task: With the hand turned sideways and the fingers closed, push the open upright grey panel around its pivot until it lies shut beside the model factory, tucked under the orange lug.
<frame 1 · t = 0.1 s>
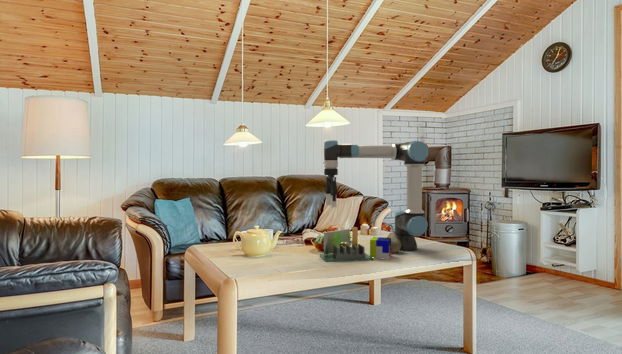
hand: (331, 206, 231), 28 cm above the table, tool pointing down, fingers open, 13 cm apart
upright grey panel: (336, 241, 236), point 8 cm above the table, hinge at 32.0°
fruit: (392, 252, 243), on the table
model factory: (345, 257, 227), on the table
puzzle toy: (380, 257, 231), on the table
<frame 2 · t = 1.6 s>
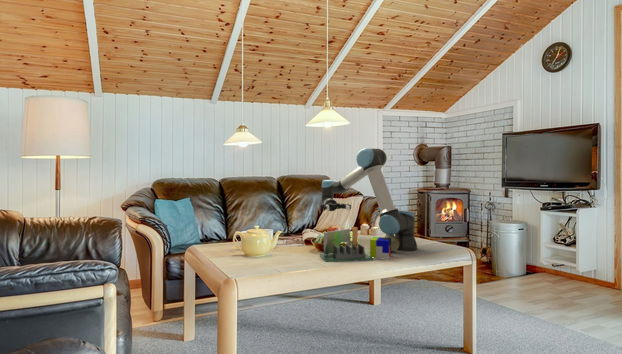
hand: (339, 208, 246), 25 cm above the table, tool horizontal, fingers open, 12 cm apart
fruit: (392, 251, 242), on the table, touching arm
everything else where it was.
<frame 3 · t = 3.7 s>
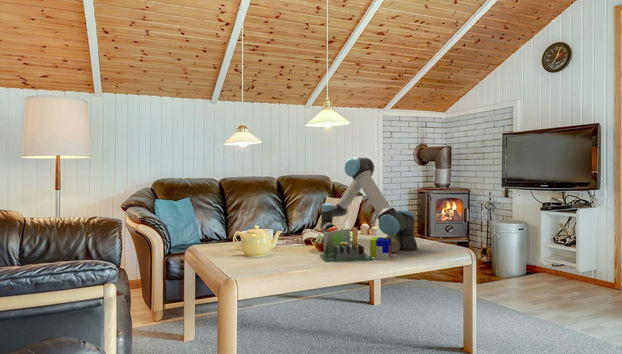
hand: (339, 235, 246), 9 cm above the table, tool horizontal, fingers closed
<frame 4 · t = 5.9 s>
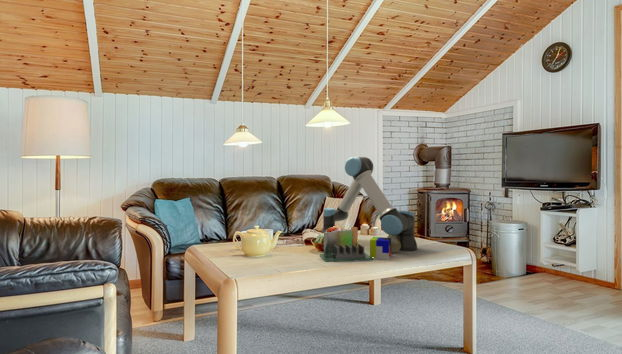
hand: (341, 241, 238), 7 cm above the table, tool horizontal, fingers closed
upright grey panel: (338, 241, 235), point 8 cm above the table, hinge at 23.9°, touching gripper
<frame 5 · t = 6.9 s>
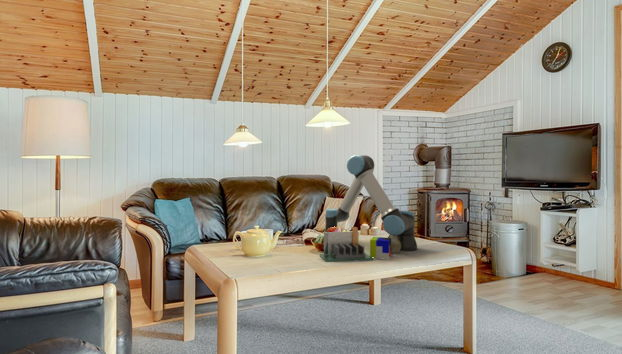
hand: (344, 243, 233), 7 cm above the table, tool horizontal, fingers closed, pressing on upright grey panel
upright grey panel: (341, 242, 232), point 8 cm above the table, hinge at -0.7°, touching gripper
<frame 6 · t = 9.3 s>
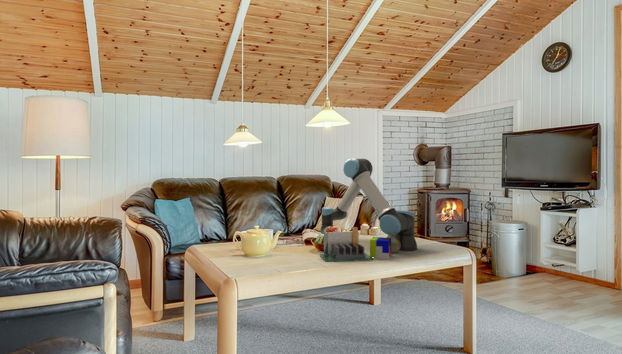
hand: (340, 239, 243), 7 cm above the table, tool horizontal, fingers closed
upright grey panel: (341, 242, 232), point 8 cm above the table, hinge at -0.8°
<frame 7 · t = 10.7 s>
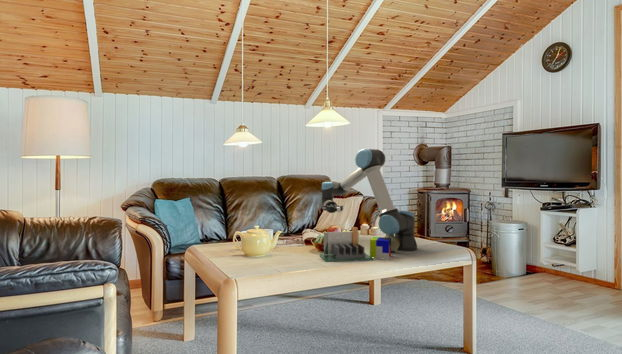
hand: (339, 210, 245), 24 cm above the table, tool horizontal, fingers closed
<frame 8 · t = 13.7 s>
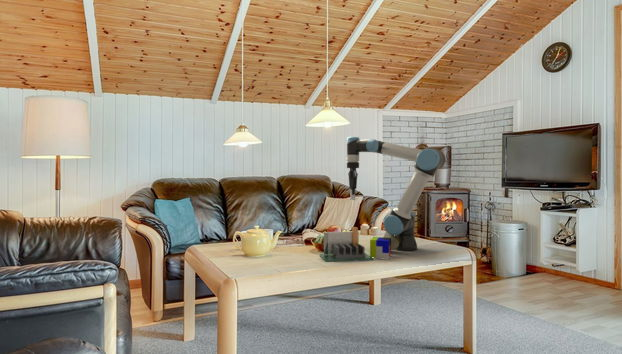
hand: (352, 199, 257), 29 cm above the table, tool pointing down, fingers closed
at the end: upright grey panel at -1° (first picture: +32°); puzzle toy moved 0.3 cm from its start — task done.
